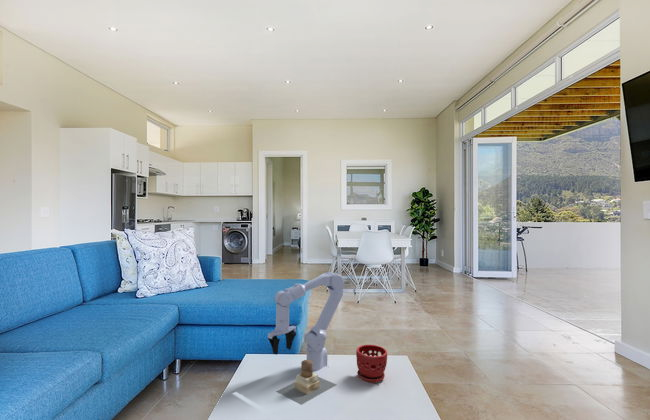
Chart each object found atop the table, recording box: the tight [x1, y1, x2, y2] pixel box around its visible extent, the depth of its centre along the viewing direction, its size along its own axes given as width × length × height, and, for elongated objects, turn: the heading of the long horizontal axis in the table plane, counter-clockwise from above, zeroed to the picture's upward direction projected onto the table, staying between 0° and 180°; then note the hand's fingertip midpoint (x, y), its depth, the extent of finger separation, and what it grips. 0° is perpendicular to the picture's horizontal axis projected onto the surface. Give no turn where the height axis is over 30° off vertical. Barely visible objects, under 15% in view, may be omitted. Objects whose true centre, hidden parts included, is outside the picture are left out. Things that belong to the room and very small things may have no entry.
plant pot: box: [355, 344, 388, 384], centre depth 144 cm, size 13×13×12 cm
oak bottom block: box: [294, 381, 320, 394], centre depth 133 cm, size 7×7×2 cm
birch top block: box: [296, 372, 319, 387], centre depth 133 cm, size 6×6×2 cm
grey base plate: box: [275, 376, 337, 405], centre depth 133 cm, size 20×14×1 cm
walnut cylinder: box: [300, 359, 314, 378], centre depth 133 cm, size 4×4×5 cm
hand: (282, 351), depth 146 cm, fingers open, 7 cm apart
